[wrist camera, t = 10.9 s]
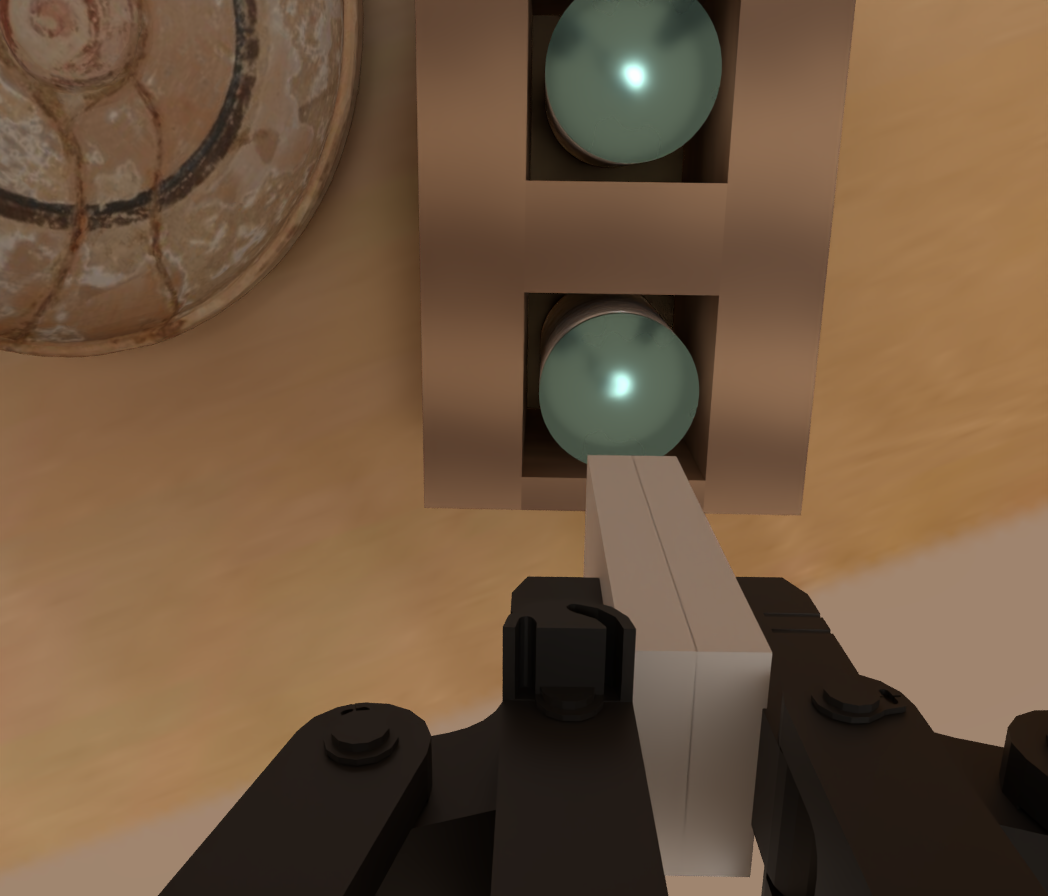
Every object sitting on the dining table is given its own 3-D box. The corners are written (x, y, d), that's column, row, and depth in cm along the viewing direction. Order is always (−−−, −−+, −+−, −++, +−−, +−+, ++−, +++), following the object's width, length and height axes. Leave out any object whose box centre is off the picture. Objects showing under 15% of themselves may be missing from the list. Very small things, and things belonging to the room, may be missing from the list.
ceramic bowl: (-179, 326, 37) (-286, 347, 32) (-308, -372, 31) (-467, -474, 26) (386, 347, 37) (363, 372, 32) (380, -351, 30) (349, -451, 25)
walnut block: (447, -20, 33) (413, -91, 24) (780, -16, 33) (864, -86, 24) (451, 432, 38) (424, 507, 29) (741, 438, 38) (800, 515, 29)
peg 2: (541, 281, 35) (540, 312, 27) (666, 283, 35) (704, 315, 27) (539, 403, 36) (537, 468, 28) (659, 405, 36) (693, 471, 28)
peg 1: (545, 24, 32) (547, -28, 24) (681, 26, 32) (728, -26, 24) (543, 166, 34) (543, 162, 25) (673, 168, 34) (715, 164, 25)
